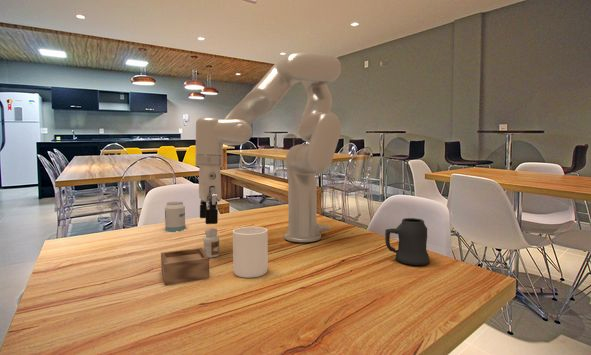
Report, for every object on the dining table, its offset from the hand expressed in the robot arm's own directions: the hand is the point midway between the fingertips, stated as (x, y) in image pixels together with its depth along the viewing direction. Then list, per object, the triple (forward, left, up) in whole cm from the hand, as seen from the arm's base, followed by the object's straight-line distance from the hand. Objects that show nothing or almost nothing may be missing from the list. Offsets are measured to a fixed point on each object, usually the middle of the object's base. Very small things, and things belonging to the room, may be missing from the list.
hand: (208, 220), depth 96 cm
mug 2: (-50, +27, -11) cm, 58 cm away
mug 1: (-8, +17, -11) cm, 21 cm away
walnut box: (+8, +13, -11) cm, 19 cm away
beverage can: (+6, -32, -11) cm, 34 cm away
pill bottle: (-1, 0, -11) cm, 11 cm away
